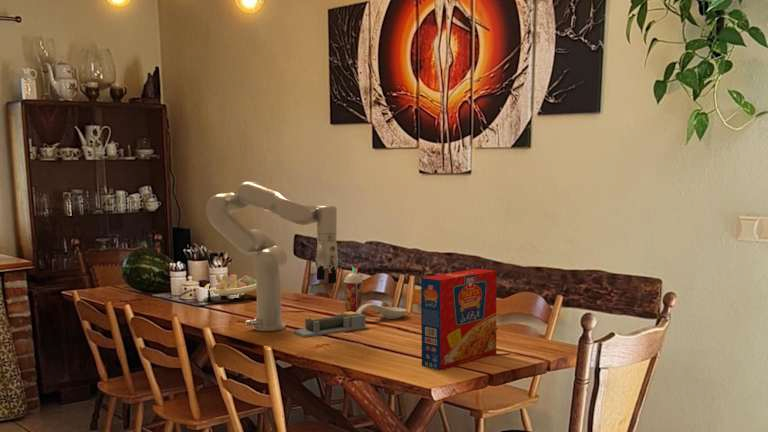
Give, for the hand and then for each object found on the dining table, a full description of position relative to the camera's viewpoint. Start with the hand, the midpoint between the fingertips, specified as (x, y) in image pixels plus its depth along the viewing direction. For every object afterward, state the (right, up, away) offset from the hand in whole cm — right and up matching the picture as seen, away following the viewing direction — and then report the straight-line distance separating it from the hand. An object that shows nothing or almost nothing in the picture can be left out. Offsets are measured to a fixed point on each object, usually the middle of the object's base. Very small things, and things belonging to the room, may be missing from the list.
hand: (326, 281), depth 265 cm
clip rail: (+1, -19, 0) cm, 19 cm away
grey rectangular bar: (+2, -18, +1) cm, 18 cm away
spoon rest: (+21, -18, +21) cm, 35 cm away
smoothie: (+9, -17, +37) cm, 41 cm away
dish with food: (-53, -16, +72) cm, 90 cm away
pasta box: (+47, -21, -43) cm, 68 cm away
